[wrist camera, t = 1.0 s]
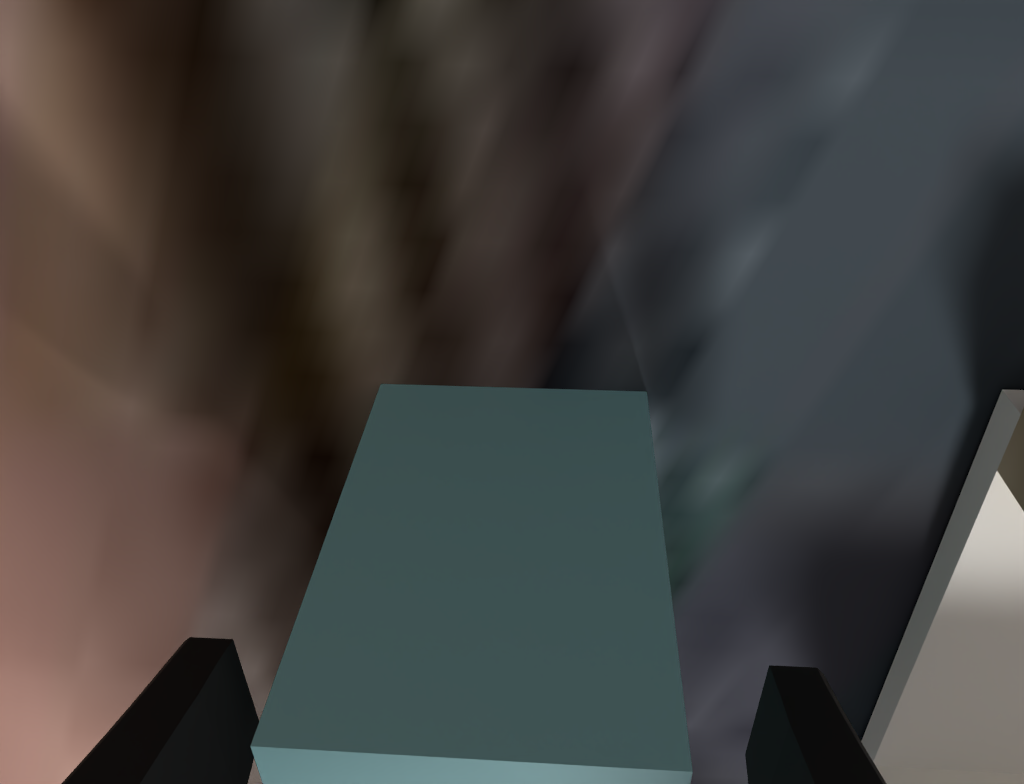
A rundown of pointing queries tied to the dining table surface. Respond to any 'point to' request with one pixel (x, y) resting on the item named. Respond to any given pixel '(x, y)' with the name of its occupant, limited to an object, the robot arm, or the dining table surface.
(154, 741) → the robot arm
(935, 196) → the dining table surface
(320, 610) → the teal block
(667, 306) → the dining table surface
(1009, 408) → the cleat board
